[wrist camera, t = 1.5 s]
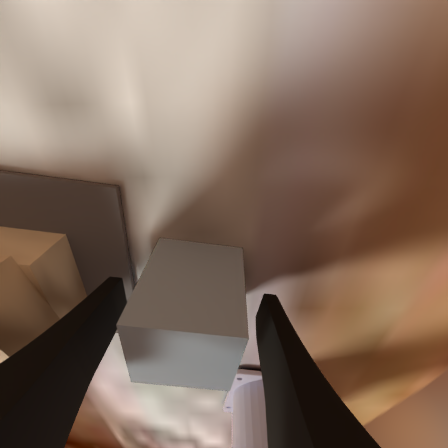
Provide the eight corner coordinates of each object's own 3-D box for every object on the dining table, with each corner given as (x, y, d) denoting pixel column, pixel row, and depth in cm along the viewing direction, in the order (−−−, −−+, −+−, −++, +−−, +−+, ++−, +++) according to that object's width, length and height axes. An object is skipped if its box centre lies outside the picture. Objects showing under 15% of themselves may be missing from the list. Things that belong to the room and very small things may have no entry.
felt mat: (141, 331, 16) (139, 335, 16) (-22, 314, 15) (-26, 318, 15) (118, 185, 10) (115, 188, 9) (-161, 149, 9) (-173, 150, 9)
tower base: (90, 306, 14) (68, 340, 12) (-2, 296, 14) (-41, 330, 12) (65, 234, 11) (29, 265, 9) (-56, 219, 10) (-121, 248, 9)
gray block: (230, 299, 14) (229, 391, 10) (162, 292, 14) (131, 382, 9) (242, 247, 11) (248, 338, 7) (159, 236, 11) (116, 324, 7)
